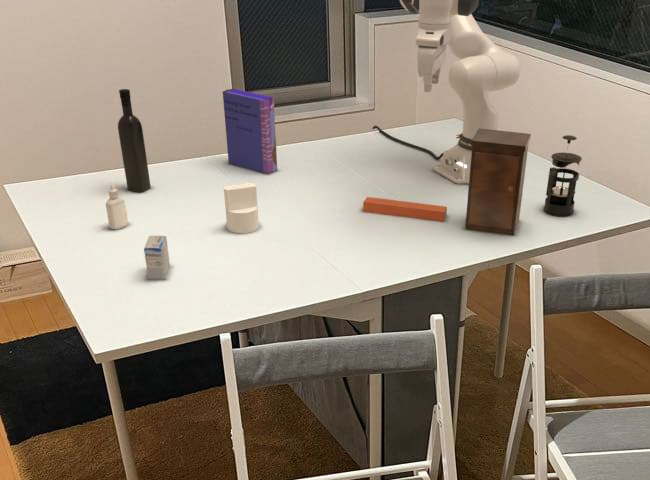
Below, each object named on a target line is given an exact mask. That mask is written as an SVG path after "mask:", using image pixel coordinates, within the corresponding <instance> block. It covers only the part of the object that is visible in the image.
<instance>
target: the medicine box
mask: <svg viewBox="0 0 650 480" xmlns="http://www.w3.org/2000/svg"><path fill="white" fill-rule="evenodd" d="M168 247H169V245H168V239H167V236H166V235H149V236H148V238H147V240H146V242H145V245H144V248H143V253H144V260H145V266H146V274H147V278H148V280H166V278H167V275H168V272H169V269H170V267H171V266H170V265H171V264H170V256H169V248H168Z"/></svg>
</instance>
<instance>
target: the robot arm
mask: <svg viewBox="0 0 650 480" xmlns="http://www.w3.org/2000/svg"><path fill="white" fill-rule="evenodd" d="M399 3H400V5H401V6H402V8H403V9H404V10H405V11H407V12H409V13H410V14H412V15H417V14H419V16H418V20H417V23H418V24H417V34H416V37H415V46H417V50H416V51H417V53H416V54H417V57H416V60H417V61H416V62H417V74H418V77H419V78H422V80H423V92H425V93H430V92H431V91H432V89H433V85H437V84H439V82H440V74H441V71H442V70H441V69H442V67H443V65H444V64H445V63H446V60H447V46H448V48H449V50H450V52H451V53H452V54H453V56H455V57H456V58H458V59H459V60H456V61H455V62H453V63H452V64H451V66H450V68H449V71H448V83H449V86H450V88H451V89H452V91H453V92H454V93H455V94H457V95H458V97H459V99H460V102H461V105H462V111H463V119H462V120H463V121H462V122H463V123H462V132H461V133H459V134H455V136H456V137H455V139H458V141H457V143H456V144H454V146H452V147H451V148H449V149H447V150H445V151H444V152H441V153H440V154H439V156H437V155H436V154H435V153H434V152H433V151H431V150H430V149H427V148H425V147H422V146H419V145H416V144H413V143H410V142H408V141H405V140H402V139H398V138H397V137H395V136H392V135H390V134H388V133H387V132H385V130H383V129H382V128H380V127H379V126H378V125H374V126H373V127H372V128H371V129H372V130H376V129H377V131H379V132H380V133H382V135H384V136H386V137H387V138H389V139H391V140H392V141H395V142H398V143H400V144H402V145H405V146H407V147H411V148H414V149H417V150H420V151H422V152H426V153H428V154H430V155H431V156H432V157H433V158H434V159H435V160H441V162H440V163H439V164H436V165H435V166H434V167H433V171H434V172H436V173H437V174H439V175H441V176H443V177H444V178H446V179H447V180H449V181H451V182H453V183H455V184H461V185H462V184H467V185H469V178H470V166H471V154H472V146H471V140H472V139H473V137H474V135H475V134H476V132H477V131H478V129H479V128H480V129H490V130H498V121H499V114H498V110H497V109H496V107H495V106H494V105H492V104H490V101H489V93H490V92H494V91H495V92H496V91H502V90H505V89H506V88H509V87H511V86H513V85H515V84H516V83H517V81H518V80H519V78H520V75H521V65H520V62H519V60H518V58H517V57H516V56H515V54H512V53H509V52H507V51H505V50H504V49H502V48H500V47H499V46H498V45H497V44H496V43H494V41H492V40H491V39H490V38H488V36H487V35H486V34H485V33H484V32H483V30H482V29H481V27H480V25H479V24H478V22H477V21H476V19H475V18H474V16H473V13H474V12H475V11H476V10H477V9H478V6H479V3H480V0H399Z"/></svg>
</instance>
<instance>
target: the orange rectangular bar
mask: <svg viewBox="0 0 650 480" xmlns="http://www.w3.org/2000/svg"><path fill="white" fill-rule="evenodd" d="M362 211H363V212H364V213H365V212H366V213H373V214H381V215H388V216H389V215H390V216H397V217H406V218H411V219H412V218H413V219H420V220H427V221H435V222H445V220H446V218H447V215H448V214H447V212H448V206H447V205H446V206H445V205H436V204H428V203H422V202H421V203H419V202H414V201H413V202H412V201H405V200H396V199H388V198H380V197H372V196H367V197H366V198H365V199H364V200H363V201H362Z"/></svg>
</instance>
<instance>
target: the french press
mask: <svg viewBox="0 0 650 480" xmlns="http://www.w3.org/2000/svg"><path fill="white" fill-rule="evenodd" d="M561 138H562V139H563V140H566V141H567V142H566V143H567V147H566V152H554V153H552V154H551V159H552V161H551V164H552V165H553V166H554V167H550V168H549V171H548V179H547V185H546V192H545V193H546V194H545V196H546V198H545V200H544V206H543V208H542V209H543V210H542V211H543V212H544V213H545V214H546V215H549V216H553V217H559V218H564V217H570V216H572V215H574V212H575V210H574V209H575V204H576V203H575V194H576V186H577V182H578V181H579V178H580V173H579V172H578V171H576V170H575V169H570V168H567V167H568V166H569V165H571V164H577V166H580V164H581V163H580V162H582V160H583V158H582V157H581V156H580V155H578V154H576V153H572V152H569V150H570V149H569V148H570V144H571V141H576V140H577V139H578V138H577V137H576V136H575V135H570V134H569V135H568V134H566V135H563V136H562V137H561ZM560 173H562V177H560V176H559V174H560ZM566 174H569V175H572V177H565V175H566ZM558 182H559V183H561V186H560V185H557V184H558ZM564 183H566V184H567V183H568V187H567V186H564Z"/></svg>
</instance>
